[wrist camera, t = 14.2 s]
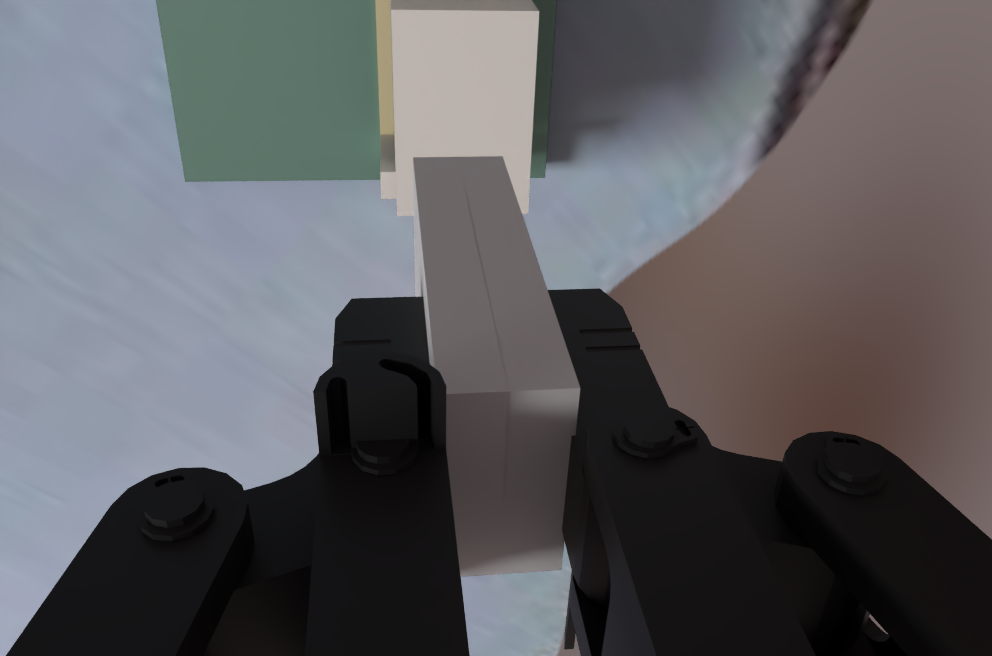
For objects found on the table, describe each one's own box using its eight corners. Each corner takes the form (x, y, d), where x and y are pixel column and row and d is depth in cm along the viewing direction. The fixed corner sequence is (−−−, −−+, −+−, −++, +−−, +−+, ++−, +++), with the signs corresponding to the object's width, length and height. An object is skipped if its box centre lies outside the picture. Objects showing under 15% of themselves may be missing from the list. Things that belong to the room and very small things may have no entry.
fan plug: (388, -42, 30) (391, 9, 23) (504, -40, 31) (539, 10, 24) (393, 128, 33) (397, 215, 27) (498, 127, 34) (527, 213, 27)
